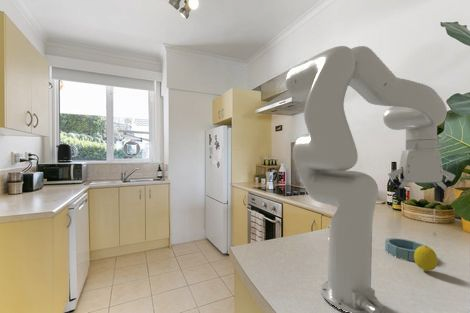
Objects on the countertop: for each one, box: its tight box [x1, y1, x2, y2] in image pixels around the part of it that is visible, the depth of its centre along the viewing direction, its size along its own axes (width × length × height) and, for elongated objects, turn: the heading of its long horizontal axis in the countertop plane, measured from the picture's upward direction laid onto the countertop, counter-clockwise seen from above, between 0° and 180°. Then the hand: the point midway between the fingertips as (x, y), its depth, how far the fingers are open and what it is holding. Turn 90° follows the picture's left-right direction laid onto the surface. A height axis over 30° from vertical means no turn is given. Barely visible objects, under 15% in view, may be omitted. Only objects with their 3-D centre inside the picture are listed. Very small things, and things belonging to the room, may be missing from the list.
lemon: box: [414, 244, 439, 272], centre depth 69 cm, size 6×6×8 cm
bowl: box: [384, 237, 424, 262], centre depth 81 cm, size 12×12×4 cm
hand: (420, 200), depth 70 cm, fingers open, 9 cm apart
